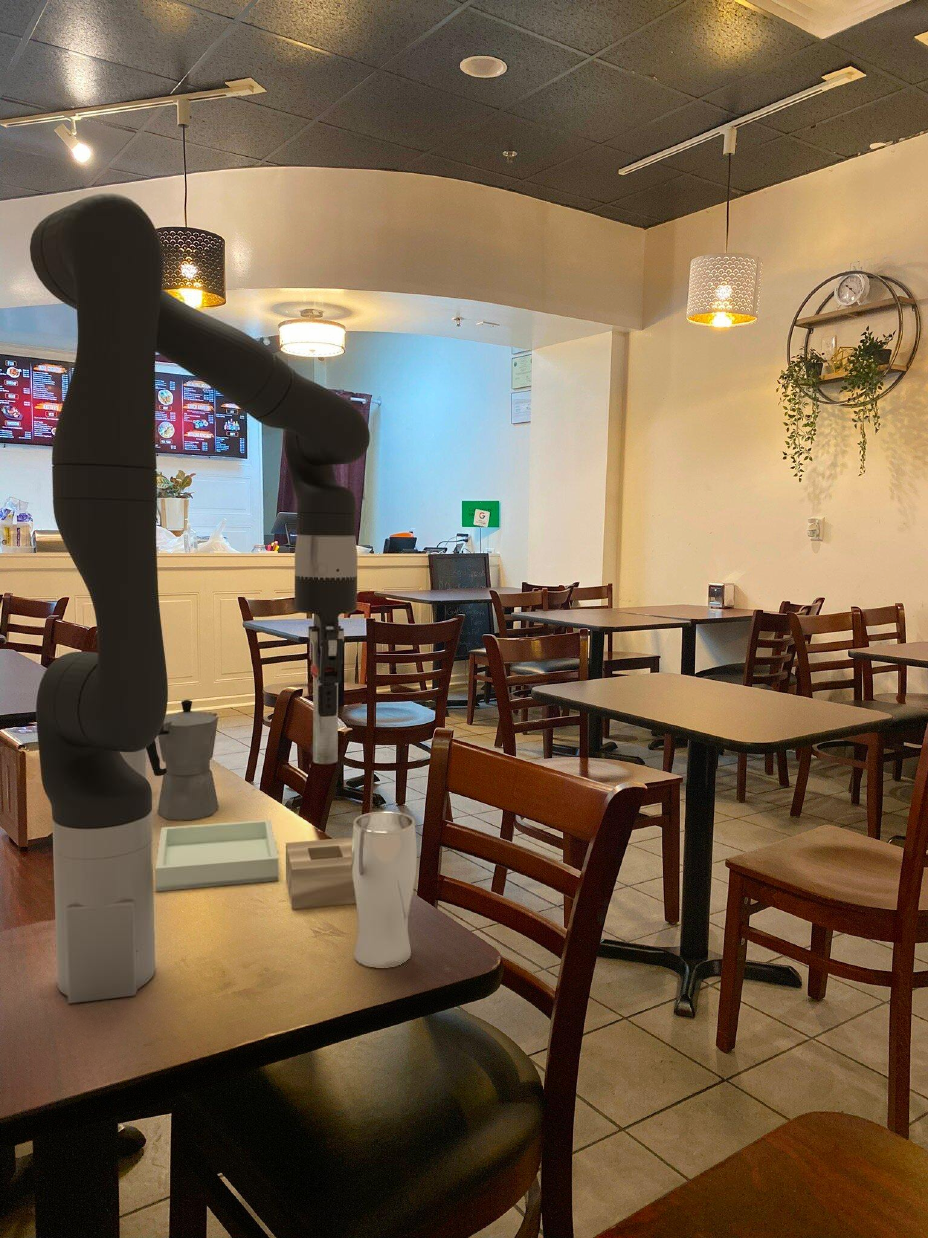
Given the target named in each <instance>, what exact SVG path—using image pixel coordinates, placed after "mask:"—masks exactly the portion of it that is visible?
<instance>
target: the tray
mask: <svg viewBox="0 0 928 1238" xmlns="http://www.w3.org/2000/svg"><path fill="white" fill-rule="evenodd" d="M156 856H157V857H156V861H155V868H154V869H155V871H154V873H155V892H168V891H176V890H177V891H178V890H189V889H190V890H191V889H199V888H210V887H211V888H212V887H221V886H223V887H224V886H233V885H243V884H246V885H247V884H255V883H257V884H258V883H265V882H266V883H267V882H277V881H279V856H278V851H277V845H276V841H275V835H274V830H273V825H272V821H271V819H263V820H251V821H250V820H249V821H235V822H234V821H233V822H223V823H222V822H220V823H207V824H193V825H180V826H179V825H178V826H176V825H175V826H165V827H164V826H163V827H161V829H160V835H159V843H158V849H157V855H156Z"/></svg>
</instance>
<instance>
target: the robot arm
mask: <svg viewBox="0 0 928 1238" xmlns="http://www.w3.org/2000/svg"><path fill="white" fill-rule="evenodd" d="M29 256H30V260H31V264H32V268H33V271H34V272H35V274H36V276H37V278H38V280H39V281H40V282H41V283H42V285H43V286H44V287H45V289H46V290H48V291H49V293H50V294H52V295H53V297H55V298H56V299H58V300H59V301H61V302H62V303H63V304H65V305H68V307H71V308H73V309H75V310H76V316H77V317H76V319H77V322H76V323H77V346H76V355H75V361H74V366H73V370H72V374H71V377H70V380H69V384H68V387H67V390H66V394H65V396H64V399H63V402H62V405H61V409H60V412H59V415H58V420H57V422H56V427H55V431H54V435H53V440H52V450H51V453H52V454H51V465H52V466H51V470H52V471H51V473H52V474H51V475H52V476H51V478H52V479H51V480H52V509H53V514H54V515H53V516H54V520H55V523H56V526H57V530H58V532H59V535H60V536H61V539H62V541H63V544H64V545H65V548H66V550H67V551H68V553H69V556H70V558H71V560H72V561H73V564H74V565H75V567H76V569H77V571H78V572H79V575H80V576H81V578H82V581H83V582H84V584H85V587H86V589H87V591H88V594H89V597H90V599H91V602H92V606H93V610H94V616H95V623H96V635H97V652H94V651H92V652H91V651H72V652H68V653H65V654H63V655H61V656H58V657H57V658H56V659H54V661H52V662H51V663H50V665H49V666H48V667H47V668H46V670H45V672H44V673H43V676H42V677H41V680H40V683H39V687H38V690H37V694H36V695H37V696H36V704H35V709H36V710H35V717H36V718H35V720H36V733H37V742H38V743H37V746H38V755H39V757H38V758H39V765H40V776H41V777H40V778H41V782H42V783H41V785H42V788H43V790H44V793H45V795H46V797H47V799H48V801H49V803H50V805H51V819H52V820H51V822H52V825H51V826H52V853H53V854H52V855H53V856H52V859H53V882H54V885H53V886H54V912H55V913H54V917H55V919H54V920H55V921H54V922H55V946H56V947H55V949H56V968H57V970H56V972H57V975H56V976H57V977H56V978H57V988H58V990H59V991H60V992H61V993H62V994H63V995H64V996H66V997H67V1003H68V1004H75V1003H82V1002H92V1001H100V1000H108V999H109V1000H110V999H116V998H126V997H133V996H136V995H137V992H138V991H139V989H140V988H142V987H143V986H144V985H145V984H147V983H148V982H149V981H151V979H152V978H153V977H154V974H155V972H156V944H155V939H156V937H155V932H156V931H155V900H154V898H155V895H154V889H155V887H154V854H153V853H154V850H153V849H154V847H153V846H154V845H153V843H154V841H153V839H154V838H153V836H154V835H153V834H154V832H153V831H154V830H153V793H152V786H151V784H150V782H149V780H147V777H146V778H145V777H143V776H142V775H141V774H139V773H138V772H137V771H135V770H134V769H133V768H132V767H131V766H130V765H128V764H127V762H126V761H125V760H124V758H123V757H122V755H121V754H120V752H137V751H140V750H143V749H145V750H146V747H148V746H149V745H150V744H151V743H152V742H153V741H154V740H155V741H156V739H157V738H158V734H159V733H160V730H161V728H162V726H163V723H164V720H165V716H166V715H167V712H168V711H167V709H168V703H169V702H168V701H169V686H168V685H169V683H168V673H167V672H168V671H167V663H166V662H167V661H166V653H165V645H164V637H163V628H162V621H161V619H162V618H161V609H160V599H159V597H160V595H159V575H158V571H159V570H158V550H157V549H158V548H157V546H158V545H157V517H158V502H157V501H158V472H157V471H158V470H157V468H158V467H157V464H158V463H157V450H156V354H158V355H161V356H162V357H164V358H166V359H167V360H169V361H170V362H172V363H174V364H175V365H177V366H179V367H180V368H182V370H183V369H184V371H187V372H188V373H190V374H191V375H192V376H194V377H196V378H197V379H199V380H200V381H202V382H203V383H204V384H205V385H207V386H209V387H210V388H211V389H213V390H215V391H216V392H217V393H218V394H220V395H222V396H223V397H224V398H225V399H227V400H228V401H229V402H231V403H233V404H234V405H235V406H236V407H238V408H239V409H241V410H243V412H245V414H247V415H249V416H251V417H252V418H253V419H254V420H256V421H257V422H259V423H261V424H262V425H265V426H266V427H270V428H274V429H280V430H284V435H283V437H284V438H283V439H284V440H283V442H284V443H283V445H284V452H285V453H284V454H285V456H286V458H285V459H286V462H287V463H286V464H287V467H288V471H289V474H290V478H291V480H290V481H291V485H292V487H293V491H294V494H295V497H296V501H297V502H296V543H295V550H294V609H295V611H297V612H298V613H301V614H310V615H313V625H309V626H308V625H307V637H308V639H309V660H310V662H311V665H312V664H313V665H314V666H316V667H317V680H316V682H317V684H318V714H319V715H320V716H321V717H328V716H335V715H336V714H337V686H338V687H339V684H340V683H341V682H342V678H343V677H342V669H343V668H342V667H343V656H344V647H345V629H344V628H342V627H341V625H339V624H340V622H339V617H340V615H343V614H352V613H354V612H356V610H357V609H358V549H357V542H356V540H357V539H356V528H357V525H356V522H357V521H356V519H357V517H356V515H357V514H356V512H357V511H356V509H357V507H356V505H357V504H356V497H355V494H354V492H353V491H352V490H351V489H350V488H347V487H345V486H344V485H343V486H342V485H340V484H338V482H337V479H336V475H335V470H334V466H335V465H338V466H339V465H348V464H351V463H354V462H356V461H358V460H359V459H361V458H362V457H363V456H364V455H365V454H366V452H367V451H368V449H369V446H370V440H371V438H370V437H371V434H370V429H369V425H368V423H367V420H366V419H365V416H364V415H363V413H361V411H360V410H359V409H358V408H357V407H356V406H355V405H354V404H353V403H351V402H350V401H349V400H347V399H346V398H344V397H343V396H341V395H339V393H338V394H337V393H336V392H334V391H332V390H330V389H328V388H326V387H324V386H323V385H320V384H318V383H316V382H315V381H313V380H310V379H308V378H306V377H304V376H302V375H300V374H299V373H297V372H296V371H295V370H294V369H293V368H292V367H291V366H290V365H288V364H287V363H286V362H285V361H284V360H282V359H281V358H280V357H279V356H277V355H276V354H275V353H273V351H271V350H270V349H268V348H267V347H266V346H265V345H264V344H262V343H261V342H259V341H258V340H257V339H255V338H253V337H252V336H250V335H249V334H247V333H246V332H244V331H242V330H240V329H238V328H236V327H234V326H232V325H230V324H227V323H226V322H224V321H222V320H219V319H217V318H214V317H213V316H211V315H209V314H207V313H204V312H203V311H200V310H198V309H196V308H194V307H192V306H191V305H189V304H187V303H185V302H183V301H181V299H179V298H177V297H175V296H173V295H172V294H171V293H169V292H167V291H166V290H165V289H163V278H164V277H163V276H164V259H163V250H162V245H161V240H160V237H159V234H158V231H157V229H156V227H155V224H153V221H152V219H151V218H150V216H149V215H148V214H147V213H146V212H145V211H144V209H143V208H142V207H141V206H140V205H139V204H137V202H135V201H133V200H132V199H131V198H129V197H127V196H125V195H122V194H119V193H113V192H105V193H98V194H94V195H90V196H87V197H84V198H82V199H81V198H80V199H79V200H77V201H76V202H73V203H71V204H69V205H67V206H65V207H63V208H61V209H59V210H56V211H54V212H52V213H50V214H48V215H47V216H46V217H44V218H43V219H42V220H41V221H40V222H39V223H38V224H37V225H36V227H35V228H34V229H33V232H32V234H31V237H30V244H29ZM326 668H334V673H325V669H326ZM311 676H312V677H313V675H312V674H311Z"/></svg>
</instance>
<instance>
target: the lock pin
mask: <svg viewBox="0 0 928 1238" xmlns="http://www.w3.org/2000/svg"><path fill="white" fill-rule="evenodd" d="M325 673H334V668H326V669H325ZM310 675H311V676H312V675H313V679H312V681H313V682H312V684H313V685H312V686H313V688H312V689H313V691H312V692H313V693H312V698H313V700H312V703H313V704H312V706H313V707H312V713H313V714H312V722H313V723H312V729H313V730H312V752H313V753H312V762H313V763H315V764H318V765H319V764H320V765H321V764H322V765H331V764H334V763H337V762H338V755H339V754H338V753H339V752H338V751H339V750H338V748H339V747H338V743H339V740H338V739H339V737H338V735H339V734H338V732H339V731H338V730H339V728H338V727H339V726H338V725H339V723H338V721H339V720H338V719H339V716H338V715H339V712H338V711H339V685H338V686H337V714H336V715H335V716H328V717H321V716H320V715H319V714H318V684H317V682H316V680H317V667H316V666H314V665H313V664H312V663H311V665H310Z"/></svg>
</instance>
